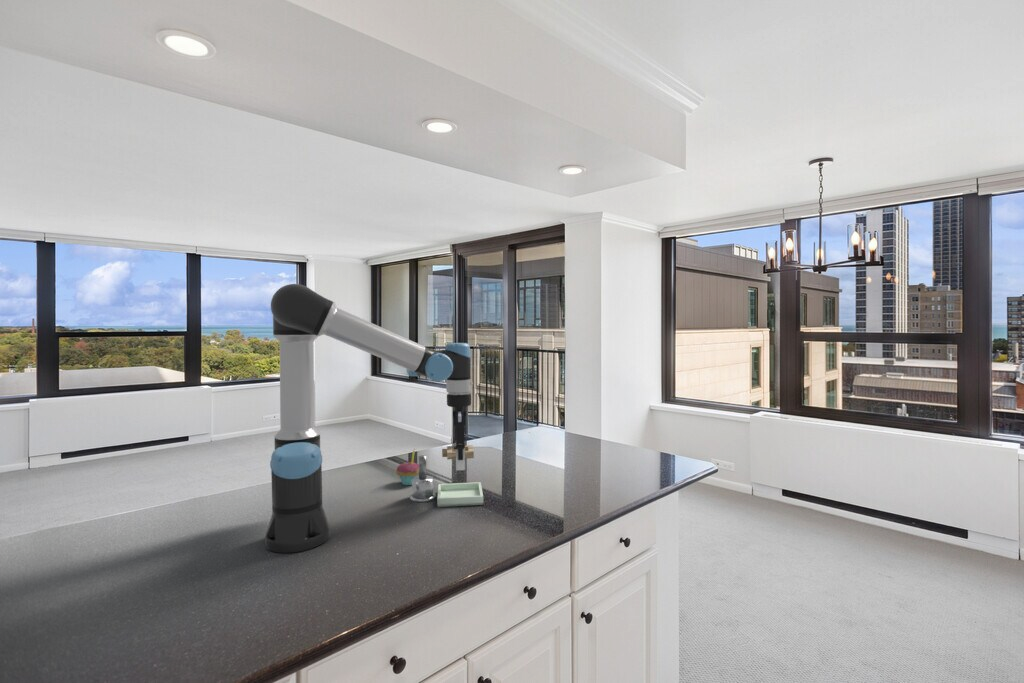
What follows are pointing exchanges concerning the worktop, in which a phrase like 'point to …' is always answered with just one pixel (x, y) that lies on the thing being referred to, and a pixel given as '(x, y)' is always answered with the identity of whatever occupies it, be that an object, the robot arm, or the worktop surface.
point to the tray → (459, 494)
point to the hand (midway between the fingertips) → (460, 465)
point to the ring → (451, 452)
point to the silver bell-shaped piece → (422, 484)
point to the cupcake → (408, 471)
